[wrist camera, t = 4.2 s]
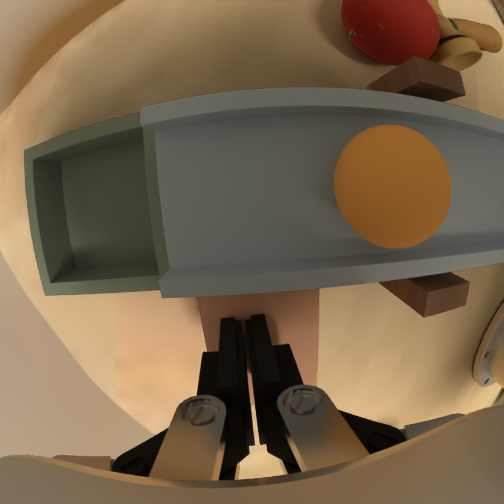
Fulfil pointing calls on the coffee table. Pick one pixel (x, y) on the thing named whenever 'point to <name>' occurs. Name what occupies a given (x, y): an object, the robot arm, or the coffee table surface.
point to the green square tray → (97, 209)
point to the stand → (439, 89)
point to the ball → (392, 186)
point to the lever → (304, 203)
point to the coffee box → (500, 7)
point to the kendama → (416, 33)
